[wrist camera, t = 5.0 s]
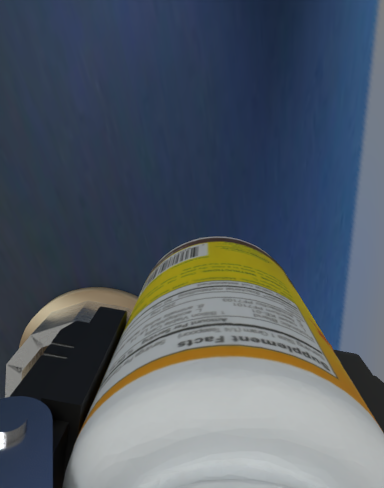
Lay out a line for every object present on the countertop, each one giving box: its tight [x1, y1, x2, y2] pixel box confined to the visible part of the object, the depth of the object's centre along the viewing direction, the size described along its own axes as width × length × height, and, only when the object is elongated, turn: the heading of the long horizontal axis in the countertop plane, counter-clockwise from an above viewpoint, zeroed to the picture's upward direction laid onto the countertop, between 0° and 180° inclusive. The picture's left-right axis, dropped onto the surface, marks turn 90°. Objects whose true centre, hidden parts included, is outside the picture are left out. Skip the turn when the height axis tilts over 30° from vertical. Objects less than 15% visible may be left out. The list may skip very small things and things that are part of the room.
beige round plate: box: [19, 287, 138, 352], centre depth 26 cm, size 12×12×1 cm
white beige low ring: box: [5, 301, 132, 398], centre depth 24 cm, size 10×10×3 cm
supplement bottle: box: [62, 237, 384, 488], centre depth 8 cm, size 6×6×10 cm
